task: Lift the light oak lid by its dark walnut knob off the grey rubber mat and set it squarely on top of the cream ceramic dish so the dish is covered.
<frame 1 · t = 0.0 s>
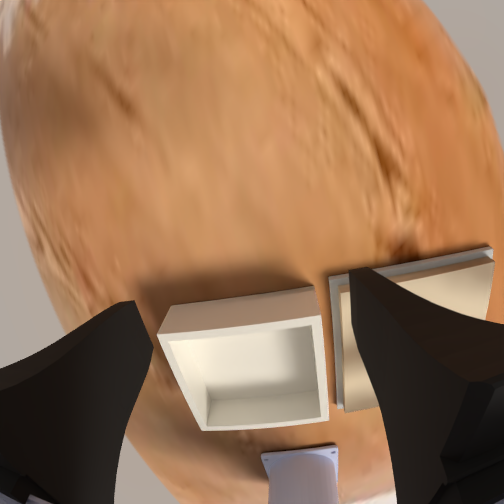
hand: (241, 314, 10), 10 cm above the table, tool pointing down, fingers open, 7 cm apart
rubber mat: (413, 335, 22), on the table
cream dish: (253, 353, 24), on the table
oak lid: (415, 339, 22), resting on rubber mat
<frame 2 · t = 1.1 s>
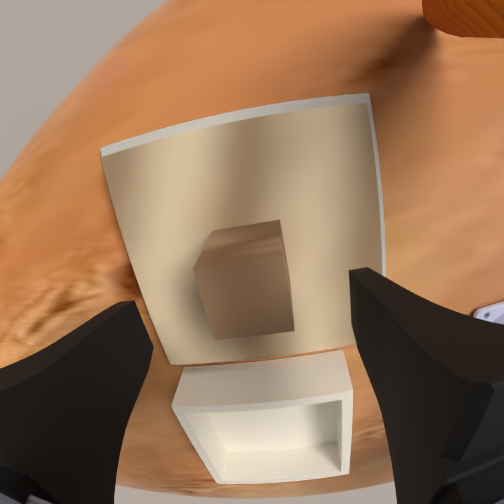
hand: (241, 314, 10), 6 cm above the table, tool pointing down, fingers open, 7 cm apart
rubber mat: (254, 244, 16), on the table
carrot: (428, 20, 11), on the table
cream dish: (273, 411, 21), on the table
oak lid: (253, 248, 16), resting on rubber mat
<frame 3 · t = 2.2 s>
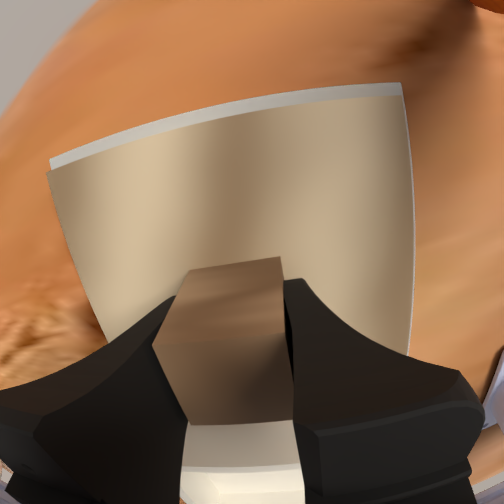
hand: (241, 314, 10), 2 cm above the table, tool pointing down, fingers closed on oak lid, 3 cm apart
rubber mat: (246, 282, 12), on the table
cream dish: (270, 457, 17), on the table
oak lid: (245, 288, 12), resting on rubber mat, touching gripper
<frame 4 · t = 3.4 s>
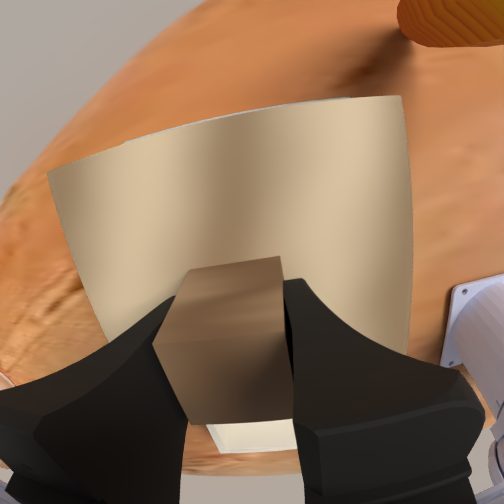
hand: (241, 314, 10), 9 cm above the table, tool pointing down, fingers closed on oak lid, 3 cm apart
rubber mat: (254, 224, 19), on the table
carrot: (404, 31, 14), on the table
lidded bowl: (3, 385, 29), on the table
cream dish: (272, 381, 24), on the table
oak lid: (245, 288, 12), point 8 cm above the table, touching gripper
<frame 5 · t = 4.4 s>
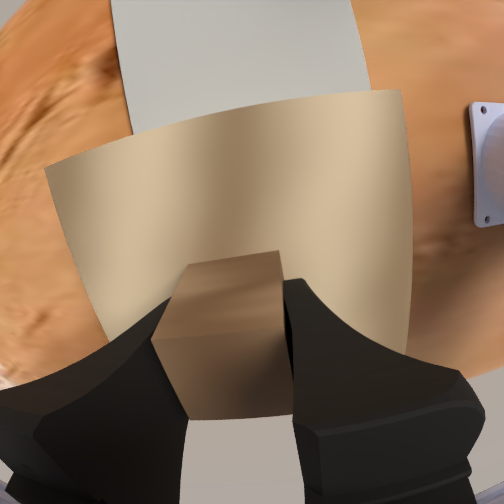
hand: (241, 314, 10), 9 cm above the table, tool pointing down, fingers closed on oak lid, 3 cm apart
rubber mat: (229, 11, 14), on the table
oak lid: (244, 282, 12), point 7 cm above the table, touching gripper
when the fingers open (7 cm above the table, at t = 5.0 s): oak lid drops 1 cm, resting on cream dish.
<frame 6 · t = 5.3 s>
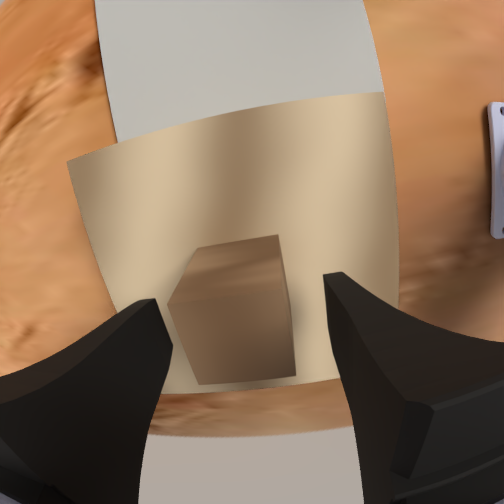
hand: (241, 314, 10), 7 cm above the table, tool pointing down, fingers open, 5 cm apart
oak lid: (247, 266, 13), point 3 cm above the table, touching cream dish
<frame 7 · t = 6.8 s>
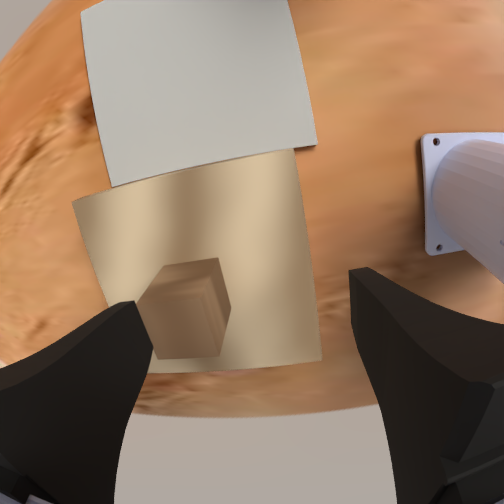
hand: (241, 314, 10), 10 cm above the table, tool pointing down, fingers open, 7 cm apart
rubber mat: (186, 61, 16), on the table
oak lid: (201, 278, 18), point 3 cm above the table, touching cream dish
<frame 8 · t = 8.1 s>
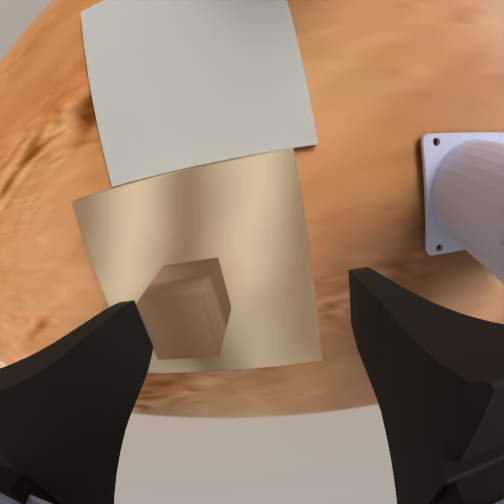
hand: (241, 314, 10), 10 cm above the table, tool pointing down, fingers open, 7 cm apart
rubber mat: (186, 61, 16), on the table
oak lid: (201, 278, 18), point 3 cm above the table, touching cream dish
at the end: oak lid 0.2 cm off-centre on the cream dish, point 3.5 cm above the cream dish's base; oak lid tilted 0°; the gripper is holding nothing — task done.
